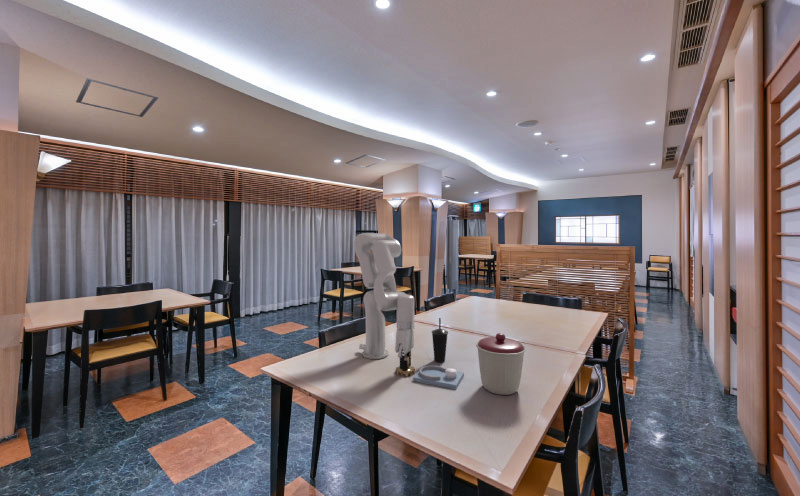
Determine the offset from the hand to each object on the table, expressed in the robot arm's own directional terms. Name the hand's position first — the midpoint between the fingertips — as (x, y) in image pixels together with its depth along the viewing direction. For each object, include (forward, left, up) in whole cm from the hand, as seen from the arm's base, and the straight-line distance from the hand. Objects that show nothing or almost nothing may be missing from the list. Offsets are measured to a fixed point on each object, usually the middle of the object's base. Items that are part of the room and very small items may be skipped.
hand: (405, 367), depth 138 cm
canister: (+39, 0, -2) cm, 39 cm away
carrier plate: (+15, 0, -2) cm, 15 cm away
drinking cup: (+10, +18, -2) cm, 21 cm away
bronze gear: (0, 0, -2) cm, 2 cm away
